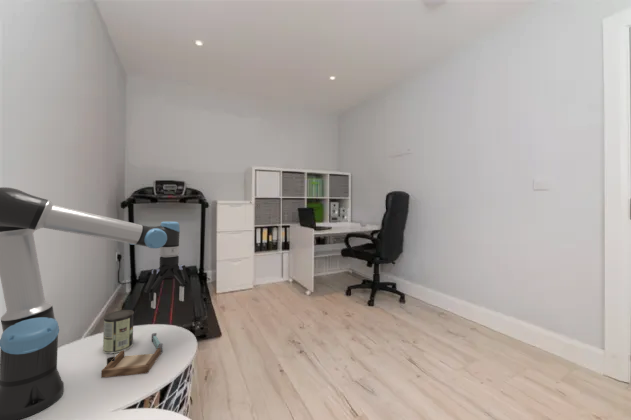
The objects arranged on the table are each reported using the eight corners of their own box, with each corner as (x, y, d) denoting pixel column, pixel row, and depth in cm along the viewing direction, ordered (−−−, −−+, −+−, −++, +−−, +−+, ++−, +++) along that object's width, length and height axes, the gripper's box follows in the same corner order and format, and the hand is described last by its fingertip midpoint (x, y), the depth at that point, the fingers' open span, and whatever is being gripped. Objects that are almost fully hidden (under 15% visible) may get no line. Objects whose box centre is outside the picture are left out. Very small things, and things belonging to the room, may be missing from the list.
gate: (151, 340, 116) (151, 333, 116) (155, 339, 117) (156, 332, 117) (158, 353, 105) (158, 345, 105) (163, 352, 107) (163, 344, 107)
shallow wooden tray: (101, 377, 90) (101, 370, 90) (120, 357, 103) (121, 350, 103) (147, 373, 93) (147, 366, 93) (160, 353, 106) (161, 347, 106)
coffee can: (118, 340, 116) (120, 308, 116) (138, 343, 114) (139, 310, 114) (95, 352, 106) (96, 317, 106) (117, 355, 104) (118, 320, 104)
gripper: (143, 260, 106) (141, 314, 105) (198, 253, 125) (197, 299, 125) (135, 258, 110) (134, 309, 110) (190, 252, 129) (189, 295, 129)
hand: (167, 304), depth 117 cm, fingers open, 11 cm apart
